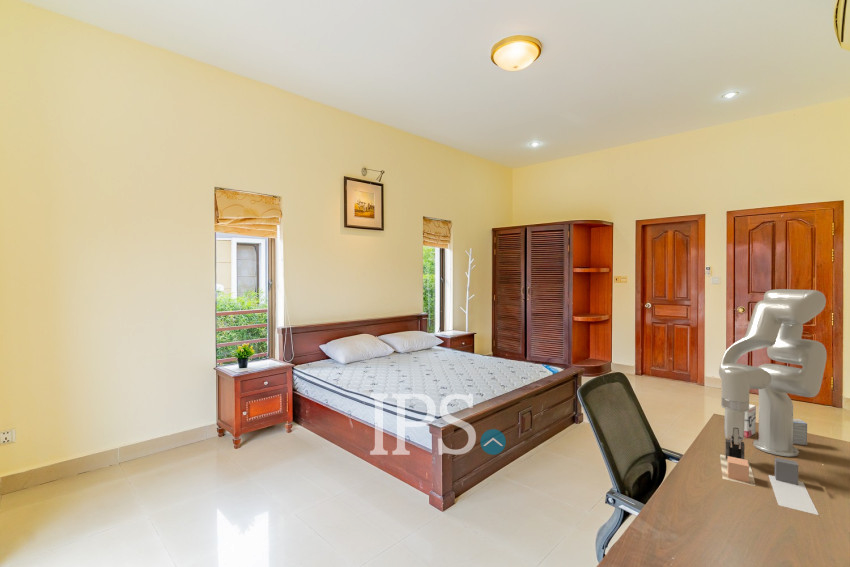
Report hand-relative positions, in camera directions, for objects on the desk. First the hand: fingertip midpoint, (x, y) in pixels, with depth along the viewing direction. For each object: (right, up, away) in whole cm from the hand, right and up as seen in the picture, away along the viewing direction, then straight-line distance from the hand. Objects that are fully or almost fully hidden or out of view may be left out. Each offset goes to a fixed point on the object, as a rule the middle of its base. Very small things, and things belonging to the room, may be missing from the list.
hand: (734, 456), depth 135 cm
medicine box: (+35, -2, +16) cm, 39 cm away
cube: (-8, -1, -12) cm, 15 cm away
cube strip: (-5, -2, -7) cm, 9 cm away
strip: (0, -3, -21) cm, 21 cm away
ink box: (+23, -2, +24) cm, 34 cm away
